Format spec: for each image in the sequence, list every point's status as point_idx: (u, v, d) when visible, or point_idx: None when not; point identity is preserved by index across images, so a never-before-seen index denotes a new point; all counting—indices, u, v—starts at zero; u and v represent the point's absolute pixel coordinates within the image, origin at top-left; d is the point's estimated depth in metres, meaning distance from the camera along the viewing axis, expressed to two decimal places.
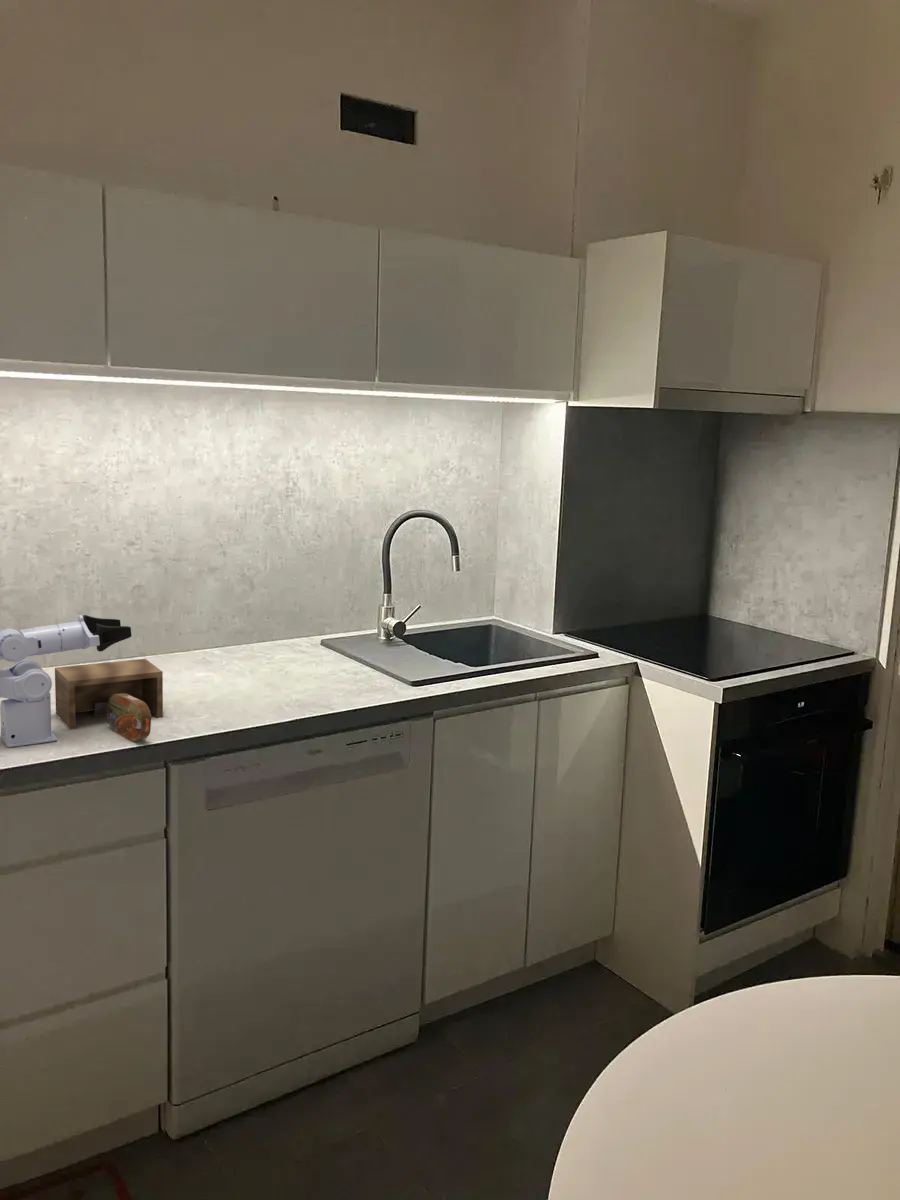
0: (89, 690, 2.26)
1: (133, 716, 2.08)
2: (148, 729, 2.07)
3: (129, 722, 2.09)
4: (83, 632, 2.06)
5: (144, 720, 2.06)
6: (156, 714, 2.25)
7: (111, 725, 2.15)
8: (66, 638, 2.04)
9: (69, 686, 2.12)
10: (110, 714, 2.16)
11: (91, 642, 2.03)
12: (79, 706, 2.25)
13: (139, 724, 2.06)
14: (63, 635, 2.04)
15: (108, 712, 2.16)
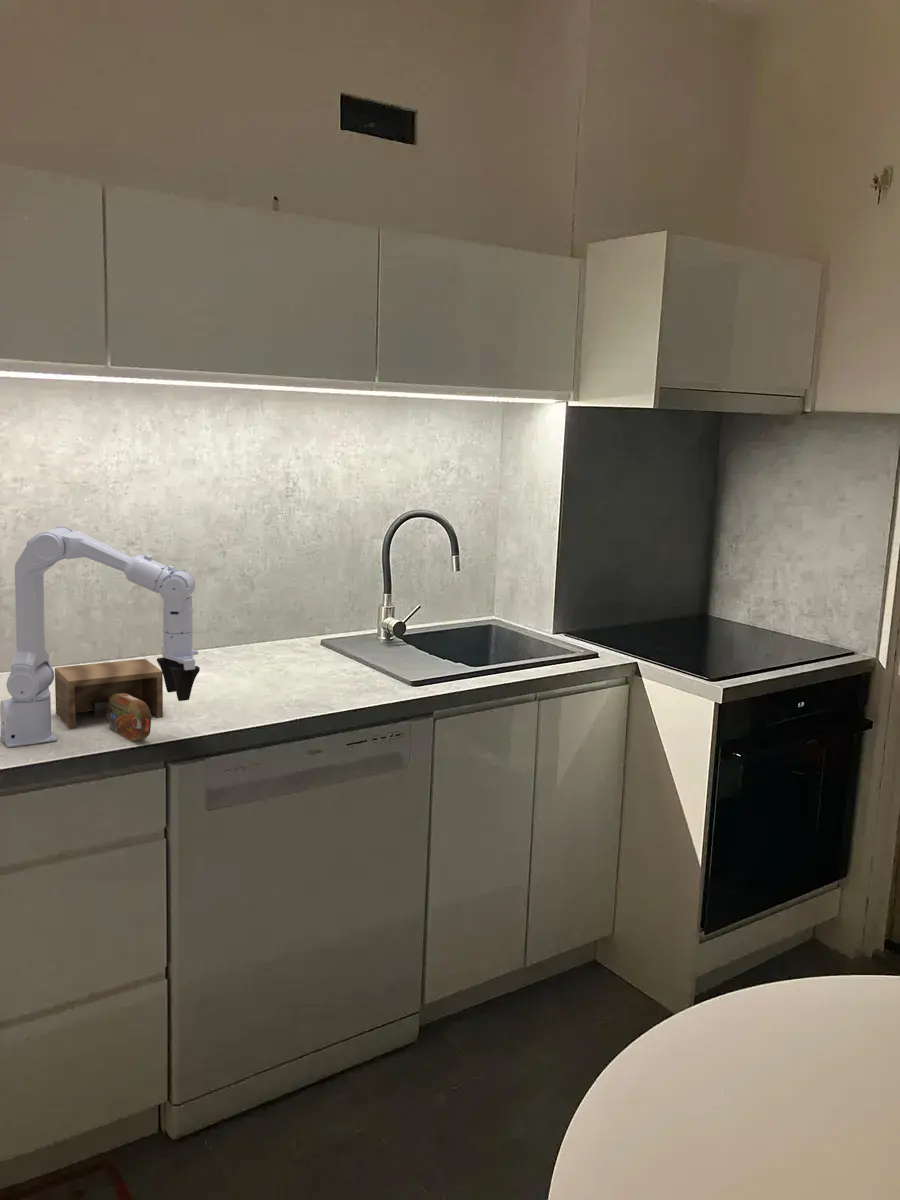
0: (89, 690, 2.26)
1: (133, 716, 2.08)
2: (148, 729, 2.07)
3: (129, 722, 2.09)
4: (187, 654, 2.03)
5: (144, 720, 2.06)
6: (156, 714, 2.25)
7: (111, 725, 2.15)
8: (184, 638, 2.02)
9: (69, 686, 2.12)
10: (110, 714, 2.16)
11: (189, 662, 1.98)
12: (79, 706, 2.25)
13: (139, 724, 2.06)
14: (187, 635, 2.02)
15: (108, 712, 2.16)
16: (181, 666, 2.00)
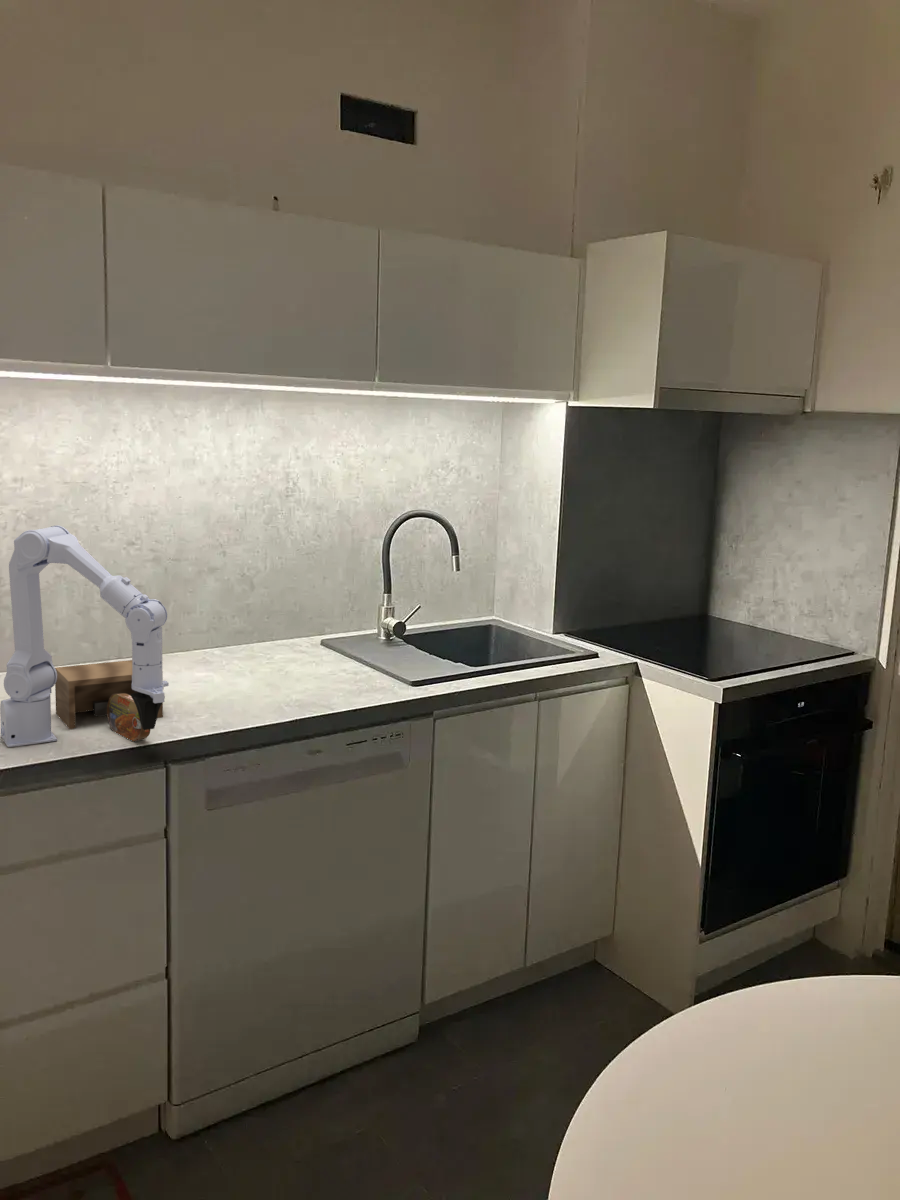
0: (89, 690, 2.26)
1: (133, 716, 2.08)
2: None
3: (129, 722, 2.09)
4: (157, 686, 1.98)
5: None
6: None
7: (111, 725, 2.15)
8: (153, 670, 1.97)
9: (69, 686, 2.12)
10: (110, 714, 2.16)
11: (158, 695, 1.94)
12: (79, 706, 2.25)
13: (139, 724, 2.06)
14: (156, 667, 1.97)
15: (108, 712, 2.16)
16: (145, 695, 1.98)
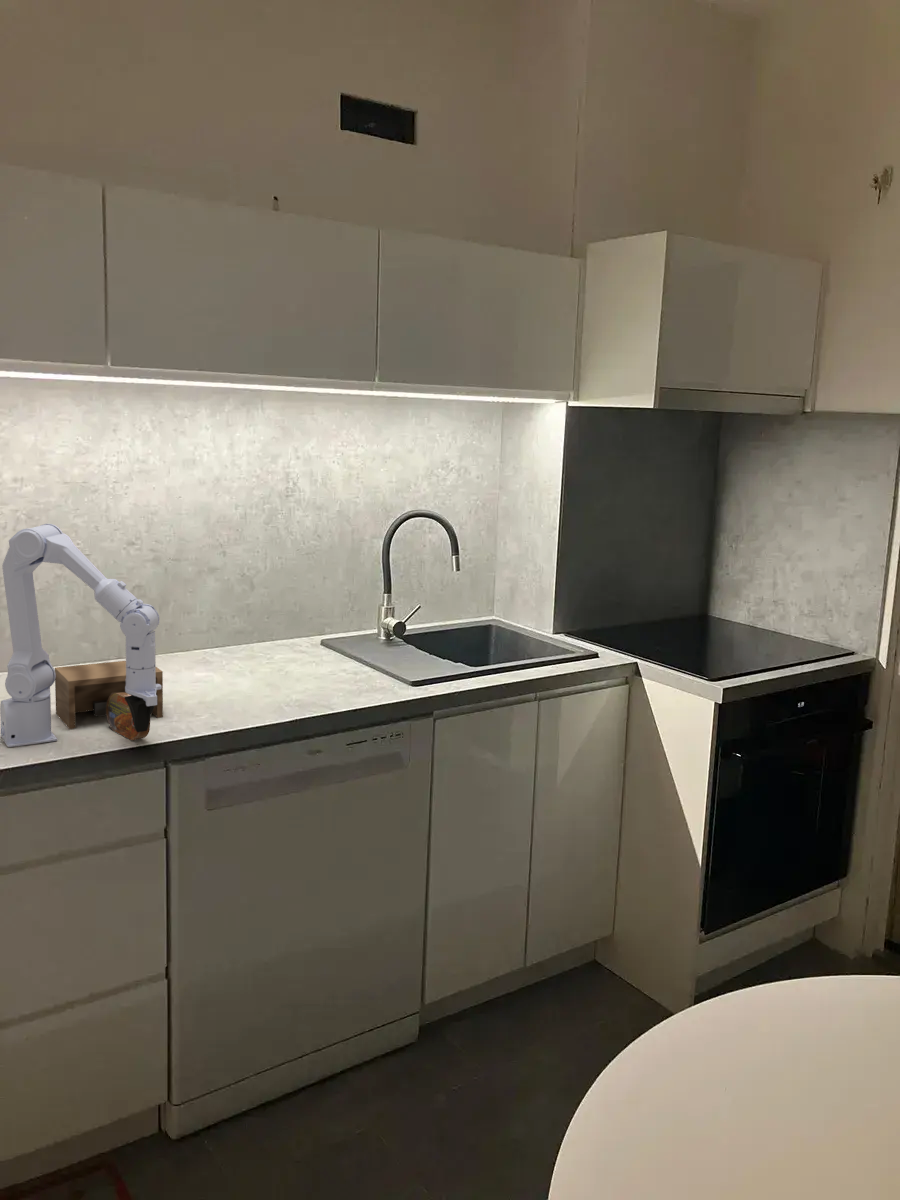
0: (89, 690, 2.26)
1: None
2: None
3: (129, 721, 2.10)
4: (150, 689, 2.02)
5: None
6: (156, 714, 2.25)
7: (110, 724, 2.15)
8: (146, 673, 2.00)
9: (69, 686, 2.12)
10: (109, 713, 2.16)
11: (151, 698, 1.97)
12: (79, 706, 2.25)
13: None
14: (149, 670, 2.01)
15: (107, 711, 2.16)
16: (139, 698, 2.02)
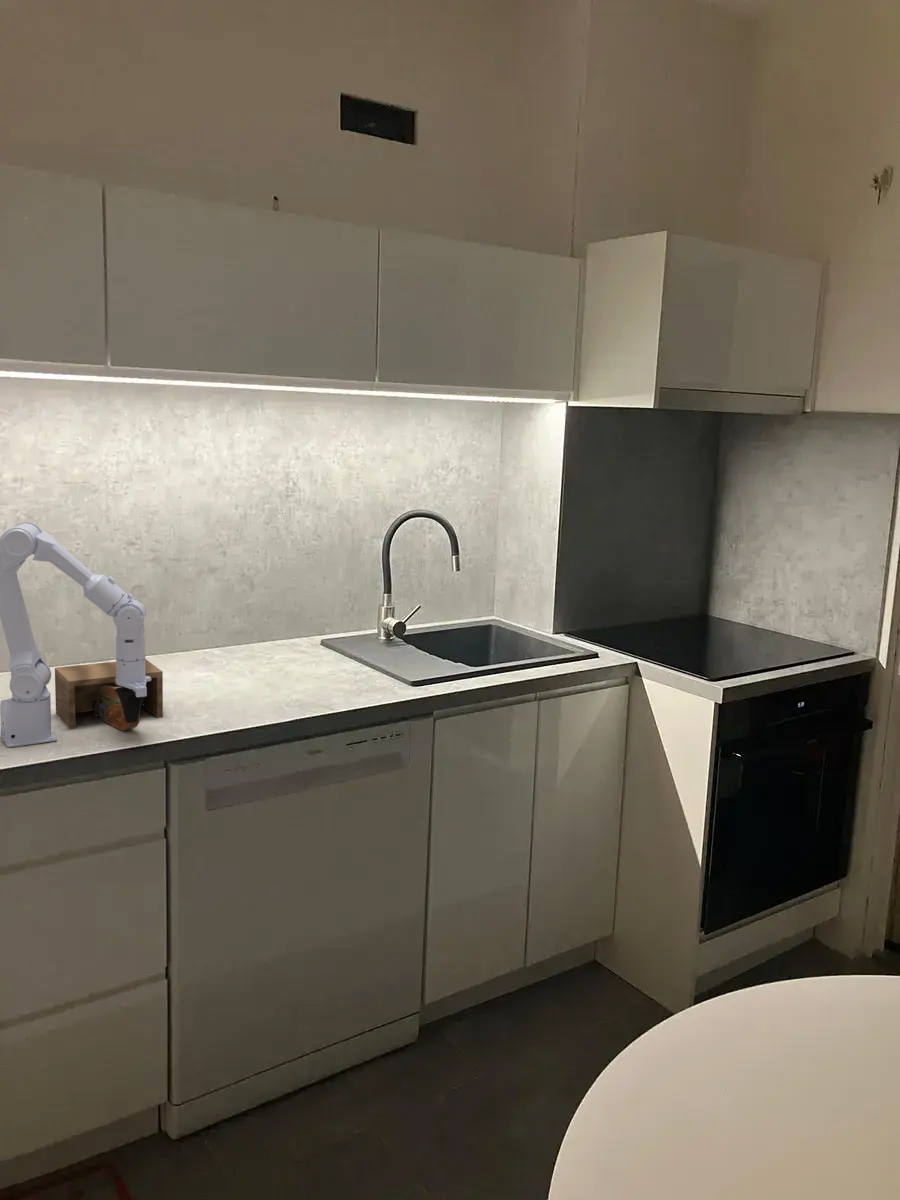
0: (89, 690, 2.26)
1: None
2: None
3: (119, 712, 2.15)
4: (140, 681, 2.07)
5: None
6: (156, 714, 2.25)
7: (101, 715, 2.21)
8: (136, 665, 2.06)
9: (69, 686, 2.12)
10: (100, 704, 2.21)
11: (141, 689, 2.03)
12: (79, 706, 2.25)
13: None
14: (139, 662, 2.06)
15: (98, 703, 2.22)
16: (129, 689, 2.07)
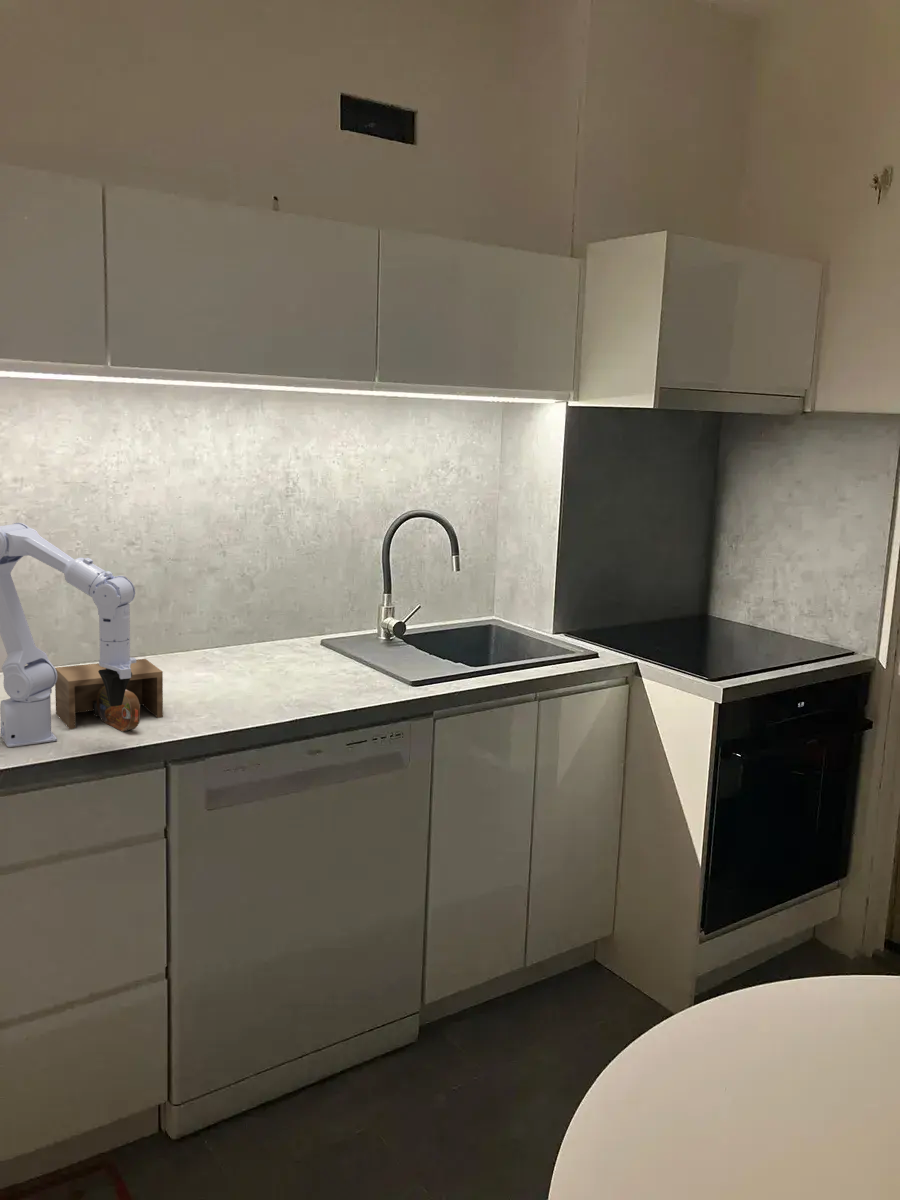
0: (89, 690, 2.26)
1: (122, 707, 2.14)
2: (137, 719, 2.13)
3: (119, 712, 2.15)
4: (124, 663, 1.98)
5: (133, 710, 2.12)
6: (156, 714, 2.25)
7: (101, 716, 2.21)
8: (120, 646, 1.97)
9: (69, 686, 2.12)
10: (99, 705, 2.21)
11: (125, 670, 1.94)
12: (79, 706, 2.25)
13: (128, 714, 2.12)
14: (124, 643, 1.97)
15: (98, 703, 2.22)
16: (113, 671, 1.98)
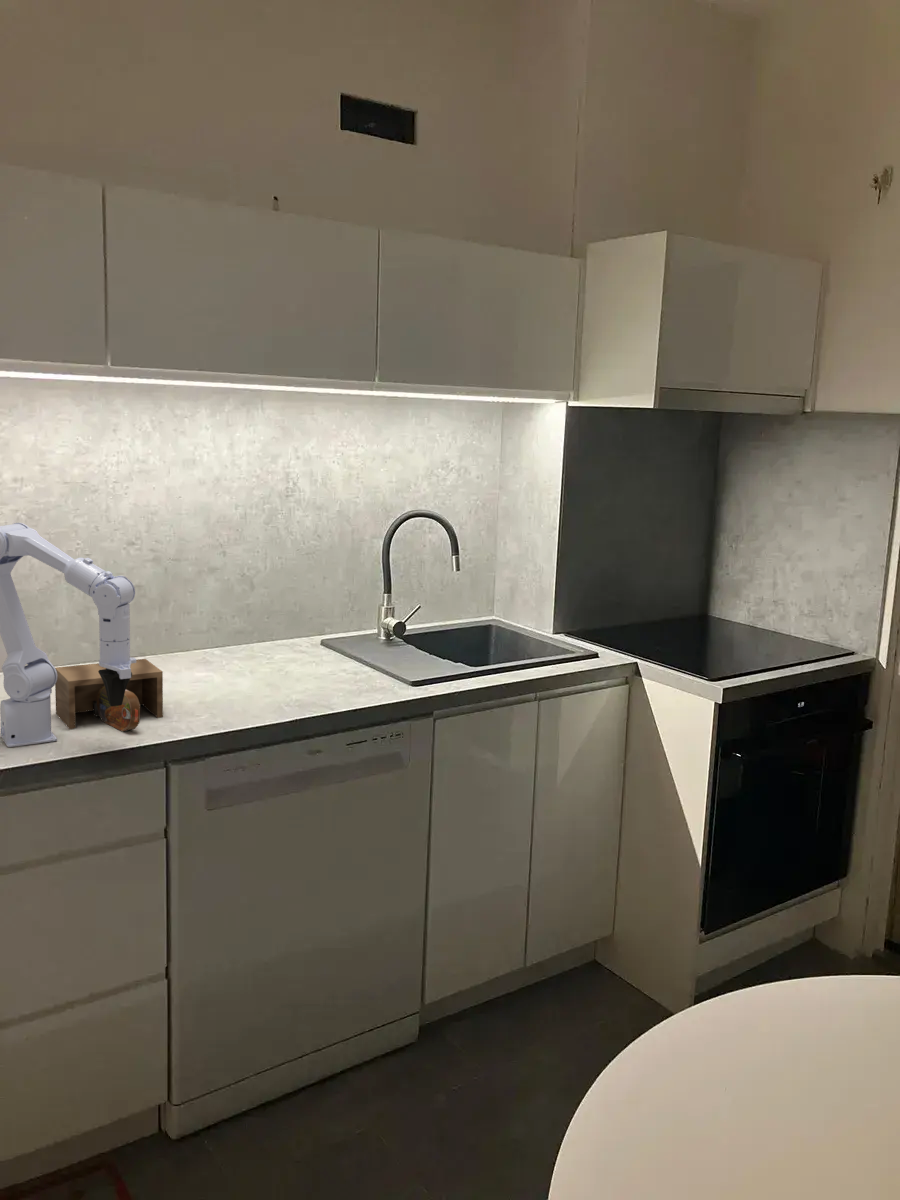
0: (89, 690, 2.26)
1: (122, 707, 2.14)
2: (137, 719, 2.13)
3: (119, 712, 2.15)
4: (124, 663, 1.98)
5: (133, 710, 2.12)
6: (156, 714, 2.25)
7: (101, 716, 2.21)
8: (120, 646, 1.97)
9: (69, 686, 2.12)
10: (99, 705, 2.21)
11: (125, 670, 1.94)
12: (79, 706, 2.25)
13: (128, 714, 2.12)
14: (123, 643, 1.97)
15: (98, 703, 2.22)
16: (113, 671, 1.98)
